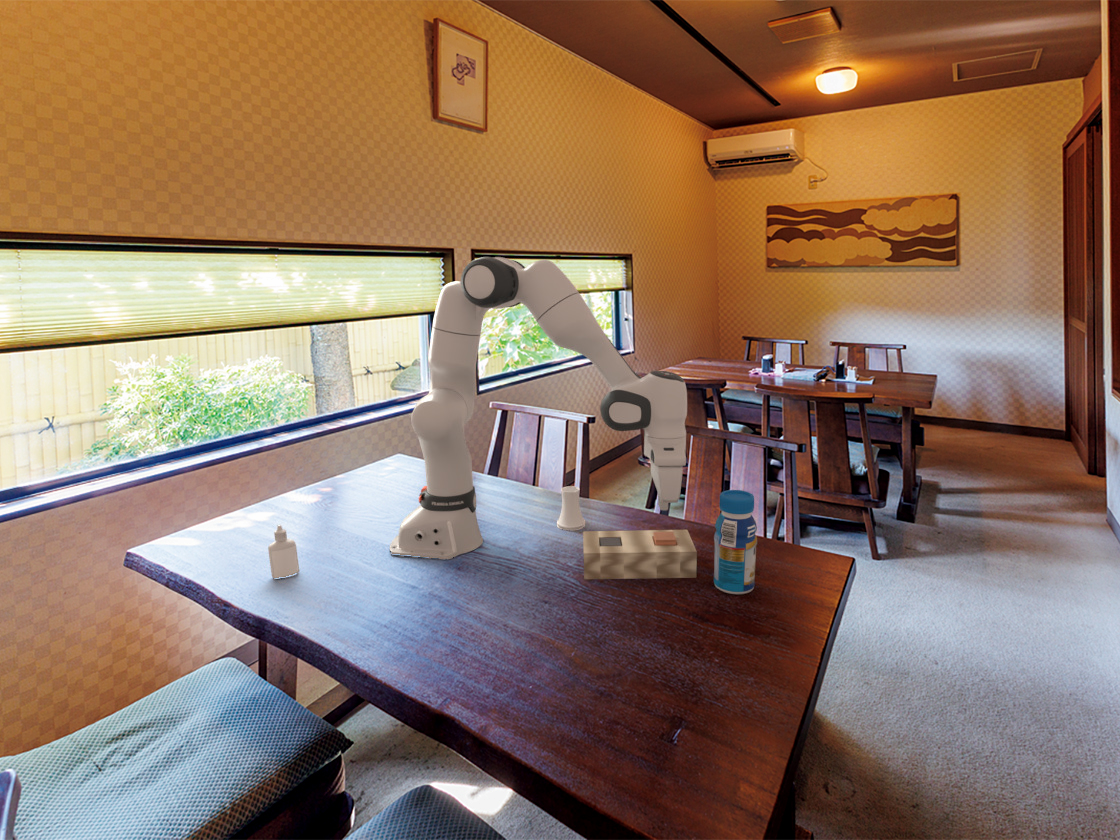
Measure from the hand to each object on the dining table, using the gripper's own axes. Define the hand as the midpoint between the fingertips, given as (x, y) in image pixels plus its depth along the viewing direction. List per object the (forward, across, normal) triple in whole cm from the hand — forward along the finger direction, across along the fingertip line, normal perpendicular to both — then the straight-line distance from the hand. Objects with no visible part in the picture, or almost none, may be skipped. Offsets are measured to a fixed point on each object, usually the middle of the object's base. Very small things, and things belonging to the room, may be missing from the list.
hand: (663, 508), depth 138 cm
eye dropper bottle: (+15, +2, -84) cm, 86 cm away
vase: (+14, -25, -20) cm, 35 cm away
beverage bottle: (+14, +10, +14) cm, 22 cm away
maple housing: (+14, 0, -5) cm, 15 cm away
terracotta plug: (+12, 0, +1) cm, 12 cm away
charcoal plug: (+13, 0, -11) cm, 18 cm away
